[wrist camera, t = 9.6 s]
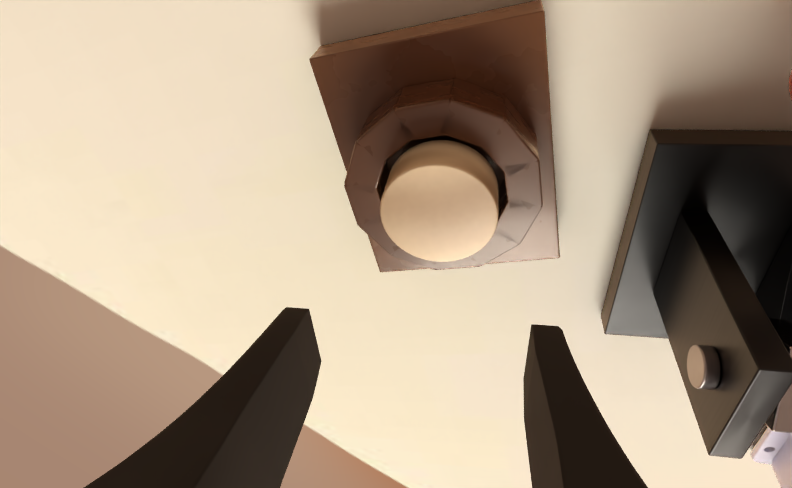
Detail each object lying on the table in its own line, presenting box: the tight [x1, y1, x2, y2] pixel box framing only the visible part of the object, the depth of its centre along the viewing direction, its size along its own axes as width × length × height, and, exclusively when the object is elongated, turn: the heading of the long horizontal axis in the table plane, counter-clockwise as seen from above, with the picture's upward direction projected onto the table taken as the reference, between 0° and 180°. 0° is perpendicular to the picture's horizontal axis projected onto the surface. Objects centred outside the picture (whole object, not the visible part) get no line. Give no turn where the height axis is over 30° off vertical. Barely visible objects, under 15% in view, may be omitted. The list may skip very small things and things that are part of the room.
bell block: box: [310, 0, 560, 272], centre depth 19 cm, size 10×8×4 cm
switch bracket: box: [601, 130, 792, 459], centre depth 18 cm, size 10×8×9 cm
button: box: [380, 140, 499, 262], centre depth 18 cm, size 4×4×2 cm
